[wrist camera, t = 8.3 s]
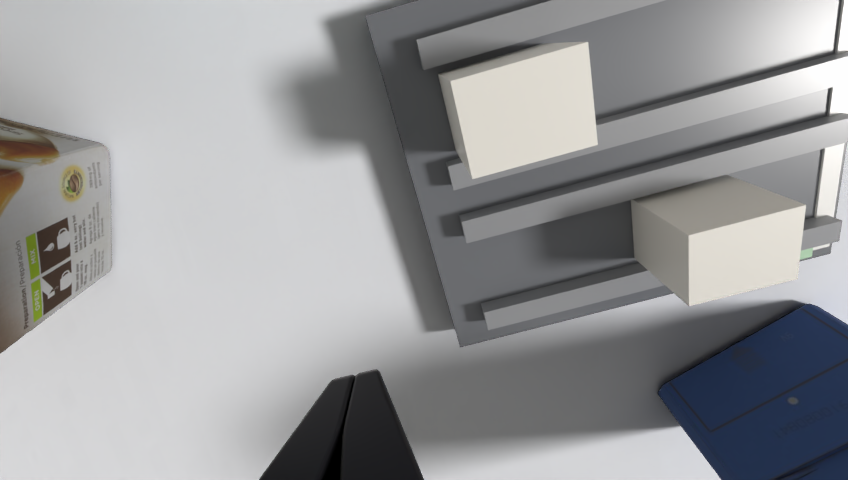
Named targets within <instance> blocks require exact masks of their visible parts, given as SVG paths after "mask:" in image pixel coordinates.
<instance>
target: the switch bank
mask: <svg viewBox="0 0 848 480" xmlns="http://www.w3.org/2000/svg"><path fill="white" fill-rule="evenodd" d="M365 17H366V20H367V24H368V27H369V31H370V34H371V38H372V41H373V45H374V48H375V52H376V55H377V59H378V62H379V66H380V69H381V73H382V76H383V80H384V83H385V87H386V90H387V94H388V97H389V101H390V104H391V108H392V111H393V115H394V118H395V121H396V125H397V128H398V132H399V135H400V139H401V142H402V146H403V149H404V153H405V156H406V160H407V163H408V167H409V170H410V174H411V177H412V181H413V184H414V188H415V191H416V195H417V198H418V202H419V205H420V209H421V212H422V216H423V219H424V223H425V226H426V230H427V233H428V237H429V240H430V244H431V247H432V250H433V254H434V257H435V261H436V264H437V268H438V271H439V275H440V278H441V282H442V285H443V289H444V292H445V296H446V299H447V303H448V306H449V310H450V313H451V317H452V320H453V324H454V327H455V331H456V334H457V338H458V341H459V345H460V347H463V346H467V345H471V344H475V343H479V342H483V341H487V340H491V339H495V338H499V337H503V336H507V335H511V334H515V333H519V332H523V331H527V330H531V329H534V328H538V327H542V326H546V325H550V324H554V323H558V322H562V321H566V320H570V319H574V318H578V317H582V316H586V315H590V314H594V313H598V312H602V311H606V310H609V309H613V308H617V307H621V306H625V305H629V304H633V303H637V302H641V301H645V300H649V299H653V298H657V297H661V296H665V295H669V294H673V292H672V291H671V290H670V289H669V288H668V287H666V286H665V285H664V284H663V283H662V282H661V281H660V280H658V279H657V278H656V277H655V276H654V275H653V274H652V273H651V272H649V271H648V270H647V269H646V268H645V267H644V266H643V265H641V264H640V263H639V262H638V261H637V260H636V259H635V258H634V242H633V227H632V212H631V200H632V199H636V198H640V197H643V196H647V195H651V194H655V193H658V192H662V191H666V190H670V189H673V188H677V187H681V186H685V185H688V184H692V183H696V182H700V181H703V180H707V179H711V178H715V177H719V176H722V175H729V176H731V177H734V178H737V179H739V180H742V181H745V182H747V183H750V184H753V185H755V186H758V187H760V188H763V189H766V190H768V191H771V192H774V193H776V194H779V195H781V196H784V197H787V198H789V199H792V200H795V201H797V202H800V203H802V204H805V205H806V211H805V219H804V228H803V236H802V245H801V253H800V261H803V260H807V259H811V258H815V257H819V256H823V255H827V254H830V253H831V246H832V243H833V242H837V241H839V238H840V232H841V226H842V220H839V219H836V213H837V206H838V199H839V193H840V186H841V179H842V173H843V166H844V159H845V153H846V146H847V142H848V0H417V1H413V2H410V3H407V4H403V5H400V6H397V7H393V8H390V9H386V10H383V11H380V12H376V13H373V14H370V15H366V16H365ZM567 42H588V45H589V56H590V67H591V77H592V88H593V98H594V109H595V120H596V130H597V141H598V145H596V146H592V147H589V148H585V149H581V150H578V151H574V152H570V153H567V154H563V155H559V156H556V157H552V158H548V159H545V160H541V161H538V162H534V163H530V164H527V165H523V166H519V167H516V168H512V169H508V170H505V171H501V172H497V173H494V174H490V175H486V176H483V177H479V178H475V179H472V178H471V176H470V174H469V173H468V171H467V169H466V168H465V166H464V164H463V162H462V161H461V159H460V157H459V156H458V154H457V152H456V149H455V145H454V140H453V136H452V132H451V128H450V123H449V119H448V115H447V111H446V106H445V102H444V98H443V94H442V89H441V85H440V81H439V77H438V74H439V73H442V72H446V71H449V70H453V69H456V68H460V67H463V66H467V65H470V64H474V63H477V62H481V61H484V60H488V59H491V58H494V57H498V56H501V55H505V54H508V53H512V52H515V51H519V50H522V49H526V48H529V47H533V46H536V45H540V44H543V43H567Z"/></svg>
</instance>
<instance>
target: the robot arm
mask: <svg viewBox="0 0 848 480" xmlns="http://www.w3.org/2000/svg"><path fill="white" fill-rule="evenodd" d="M259 480H424V478H423V476H422V473H421V471H420V469H419V466H418V464H417V461H416V459H415V456H414V454H413V452H412V449H411V447H410V444H409V442H408V439H407V437H406V435H405V432H404V430H403V427H402V425H401V422H400V420H399V418H398V415H397V413H396V410H395V408H394V405H393V403H392V400H391V398H390V396H389V393H388V391H387V388H386V386H385V383H384V381H383V379H382V376H381V374H380V372H379V370H377V369H375V370H371V371H366V372H362V373H359V374H357V375H356V376H354V375H349V376H345V377H340V378H336V379H334V380H332V381H331V382H330V383H329V384H328V386H327V387H326V389H325V390H324V391H323V393H322V394H321V395H320V397H319V398H318V399H317V401H316V402H315V404H314V405H313V406H312V408H311V409H310V410H309V412H308V413H307V415H306V416H305V417H304V419H303V420H302V421H301V423H300V424H299V425H298V427H297V428H296V430H295V431H294V432H293V434H292V435H291V436H290V438H289V439H288V441H287V442H286V443H285V445H284V446H283V447H282V449H281V450H280V452H279V453H278V454H277V456H276V457H275V458H274V460H273V461H272V462H271V464H270V465H269V467H268V468H267V469H266V471H265V472H264V473H263V475H262V476H261V478H260V479H259Z"/></svg>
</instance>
